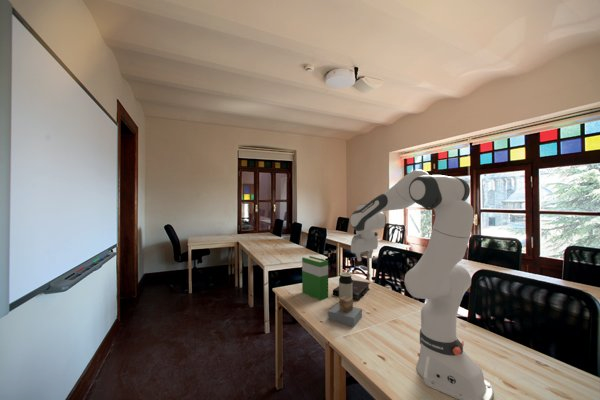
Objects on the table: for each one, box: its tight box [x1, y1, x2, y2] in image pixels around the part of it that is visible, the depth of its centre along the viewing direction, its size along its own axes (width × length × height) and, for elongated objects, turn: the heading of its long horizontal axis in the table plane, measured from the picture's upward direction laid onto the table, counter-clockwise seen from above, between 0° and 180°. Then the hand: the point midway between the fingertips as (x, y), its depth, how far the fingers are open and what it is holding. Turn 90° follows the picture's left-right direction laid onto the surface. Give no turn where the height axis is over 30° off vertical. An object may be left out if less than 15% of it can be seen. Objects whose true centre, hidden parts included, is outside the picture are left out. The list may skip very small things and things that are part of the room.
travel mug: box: [338, 271, 353, 300], centre depth 147 cm, size 8×8×18 cm
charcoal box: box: [327, 302, 363, 328], centre depth 127 cm, size 14×12×5 cm
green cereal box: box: [301, 255, 329, 301], centre depth 160 cm, size 18×7×24 cm, turn 39°
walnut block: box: [338, 296, 354, 313], centre depth 128 cm, size 5×5×6 cm
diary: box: [332, 279, 371, 302], centre depth 165 cm, size 19×25×5 cm
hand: (364, 259), depth 129 cm, fingers open, 8 cm apart
